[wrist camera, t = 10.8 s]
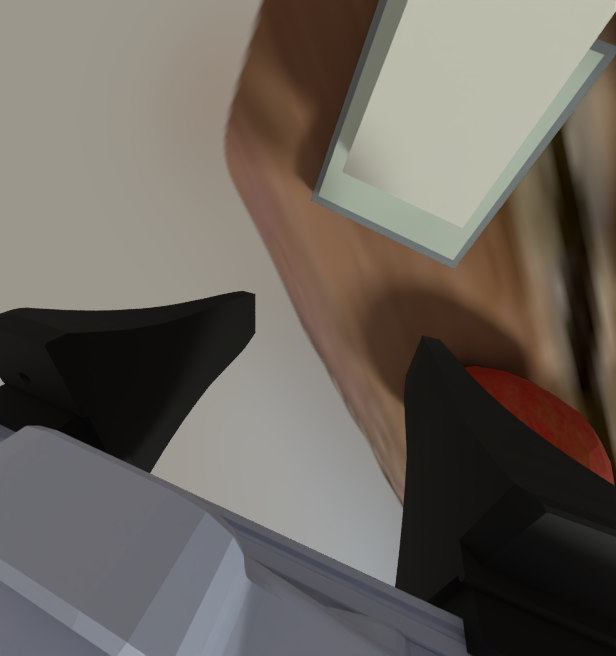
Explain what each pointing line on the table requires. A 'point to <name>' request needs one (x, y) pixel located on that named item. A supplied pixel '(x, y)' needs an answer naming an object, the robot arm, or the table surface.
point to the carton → (466, 95)
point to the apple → (546, 417)
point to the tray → (401, 216)
